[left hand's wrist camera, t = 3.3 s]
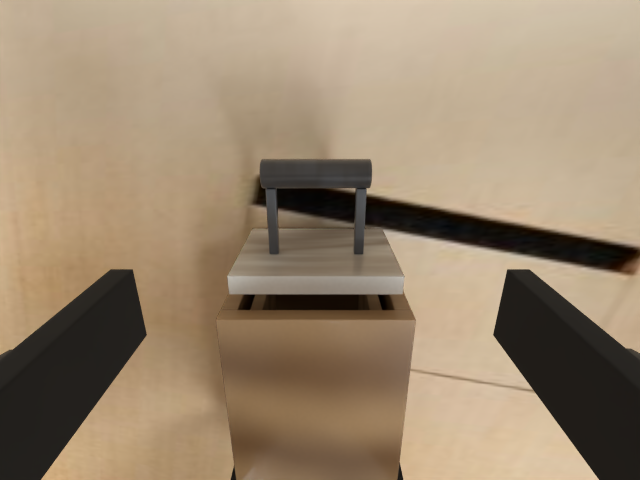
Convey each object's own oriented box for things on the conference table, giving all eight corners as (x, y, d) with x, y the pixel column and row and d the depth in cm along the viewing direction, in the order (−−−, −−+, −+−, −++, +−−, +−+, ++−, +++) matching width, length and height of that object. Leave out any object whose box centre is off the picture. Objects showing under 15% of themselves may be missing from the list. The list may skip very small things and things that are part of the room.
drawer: (246, 148, 25) (215, 169, 18) (387, 148, 25) (414, 169, 18) (266, 415, 34) (251, 502, 27) (369, 416, 34) (382, 502, 27)
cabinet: (249, 249, 29) (215, 319, 20) (385, 249, 29) (416, 319, 20) (263, 433, 37) (244, 546, 27) (372, 433, 37) (389, 546, 27)
